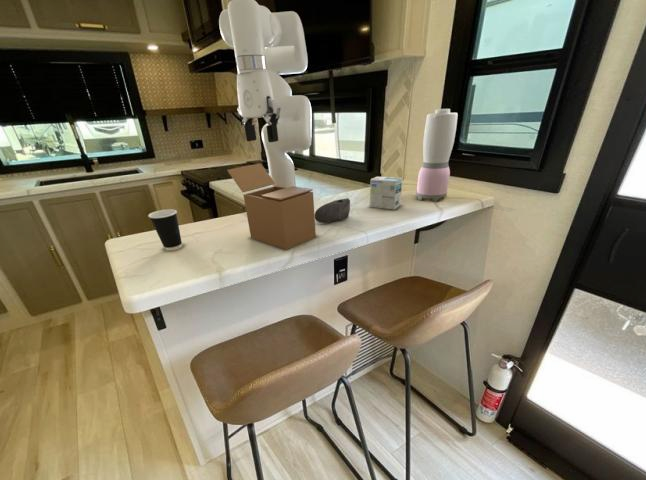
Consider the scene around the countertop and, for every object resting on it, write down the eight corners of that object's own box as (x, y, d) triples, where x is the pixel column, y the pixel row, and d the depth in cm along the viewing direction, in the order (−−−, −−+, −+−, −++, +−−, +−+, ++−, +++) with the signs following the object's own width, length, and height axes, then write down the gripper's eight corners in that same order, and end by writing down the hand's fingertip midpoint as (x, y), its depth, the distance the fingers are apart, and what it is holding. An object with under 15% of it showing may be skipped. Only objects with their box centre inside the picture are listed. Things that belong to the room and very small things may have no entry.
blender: (441, 202, 124) (456, 109, 107) (411, 199, 130) (421, 110, 113) (450, 193, 135) (465, 107, 118) (423, 191, 141) (433, 109, 124)
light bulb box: (400, 205, 123) (403, 177, 118) (394, 210, 119) (396, 180, 113) (375, 203, 128) (377, 175, 123) (369, 207, 124) (370, 179, 118)
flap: (243, 191, 93) (242, 192, 94) (275, 183, 101) (274, 184, 101) (227, 169, 94) (227, 170, 94) (260, 163, 102) (260, 164, 102)
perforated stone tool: (318, 226, 107) (317, 206, 103) (311, 222, 111) (310, 203, 107) (355, 218, 112) (355, 199, 109) (347, 215, 116) (347, 196, 113)
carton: (251, 238, 101) (242, 191, 93) (280, 227, 109) (275, 183, 101) (286, 249, 91) (280, 198, 83) (315, 236, 99) (312, 189, 91)
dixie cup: (156, 248, 98) (144, 213, 92) (181, 240, 102) (170, 207, 97) (165, 254, 93) (153, 218, 87) (191, 246, 97) (180, 212, 92)
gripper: (220, 69, 81) (233, 141, 91) (261, 61, 71) (272, 144, 81) (243, 70, 86) (253, 138, 95) (285, 62, 76) (292, 140, 85)
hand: (262, 141), depth 88 cm, fingers open, 9 cm apart
